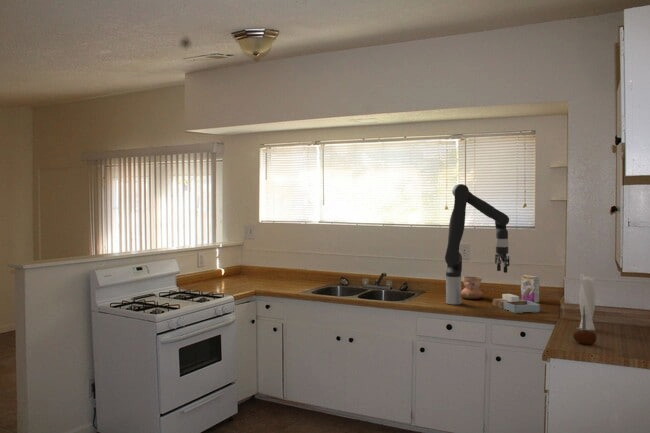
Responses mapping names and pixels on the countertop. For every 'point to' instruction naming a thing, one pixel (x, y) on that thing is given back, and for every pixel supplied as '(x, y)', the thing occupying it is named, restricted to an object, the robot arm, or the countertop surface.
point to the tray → (522, 307)
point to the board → (500, 302)
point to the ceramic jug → (471, 287)
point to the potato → (585, 337)
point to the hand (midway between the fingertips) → (502, 271)
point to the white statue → (587, 303)
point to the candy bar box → (530, 288)
